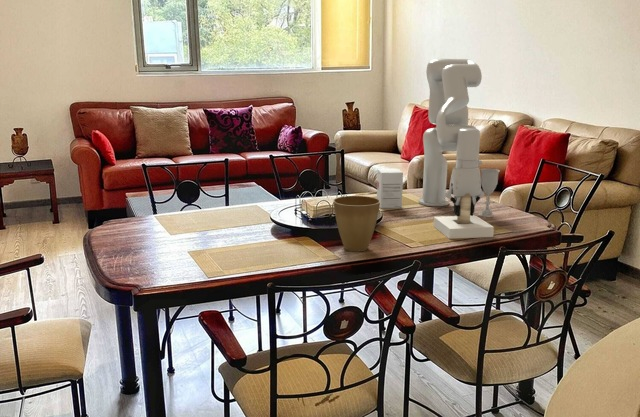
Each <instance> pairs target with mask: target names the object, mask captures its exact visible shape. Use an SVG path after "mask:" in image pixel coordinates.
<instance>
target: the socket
mask: <svg viewBox="0 0 640 417" xmlns="http://www.w3.org/2000/svg"><path fill="white" fill-rule="evenodd" d="M433 227H434V229H435V228H436V230H437V231H439V232H440V233H441V234H443V235H444V236H445V237H446V238H448V239H449V240H453V239H470V238H471V239H472V238H473V239H475V238H477V239H478V238H494V231H495V227H494V226H493V225H491V224H490V223H489V222H486V221H485V220H483V219H482V218H480V217H478V216H477V215H474V214H473V216H471V215H470V224H457V216H456V215H450V216H448V215H447V216H444V215H443V216H433Z"/></svg>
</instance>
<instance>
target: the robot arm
mask: <svg viewBox="0 0 640 417" xmlns="http://www.w3.org/2000/svg"><path fill="white" fill-rule="evenodd" d="M425 72H426V80H427V82H428V83H427V84H428V87H429V96H428V97H429V100H428V101H429V102H428V115H427V116H428V121H429V123H430V124H432V125H435V127H432V128H428V129H426V130H425V131H424V133H423V136H422V142H423V152H424V154H423V157H424V158H423V176H422V177H423V179H422V181H423V183H422V197H421V198H418V203H419V204H420V205H422V206H428V207H445V206H448V205H449V203H450V202H449V201H451V203H452V204H453V214H454V216H460V205H459V202H460V198H461V197H463V196H465V194H466V193H469V194H470V196H471V211H470V216H473V215H474V213H475V207H476V205H477V203H478V202H479V201H480V200H481V199H482V198H484V197H485V196H486V193H485V192H484V190H483V188H481V187H482V184H481V168H480V167H479V166H480V165H482V163H483V161H482V160H481V159H479V158H480V157H479V156H480V143H481V140H480V139H481V132H480V129H478V128H477V127H476V126H475V125H470V124H469V109H468V108H469V107H468V104H469V102H470V98H469V92H468V88H477V87H479V86H480V84H481V82H482V69H481V68H480V66H479V65H478V64H477V63H476V62H474V61H473V60H471V59H467V58H436V59H432V60H430V61H429V62H428V63H427V66H426V71H425ZM443 152H456V157H455V158H456V159H455V166H453V167H452V170H451V176H450V180H449V187H448V188H449V189H448V190H447V178H448V161H447V158H446V156H444V154H443ZM446 190H447V191H446ZM448 199H449V200H448Z"/></svg>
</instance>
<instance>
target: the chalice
mask: <svg viewBox="0 0 640 417" xmlns="http://www.w3.org/2000/svg"><path fill="white" fill-rule="evenodd" d="M500 171H501V170H500V169H498V168H486V167H485V168H480V173H481V174H480V176H481V187H482V191H483V192H484V194H485V195H486V197H485V200H486V202H485V208H484V209H482V211H481V212H480V213H479V216H480V217H484V218H492V217H494V214H493V210H491V209H490V208H489V205H491V203H490V200H491V198H490V195H492V194H493V193H494V191H495V190H496V188H497V185H498V182H499V181H498V180H499V173H500Z"/></svg>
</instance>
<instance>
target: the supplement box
mask: <svg viewBox="0 0 640 417" xmlns="http://www.w3.org/2000/svg"><path fill="white" fill-rule="evenodd" d="M376 180H377V181H376V198H377V199H379V200H380V206H379V209H402V207H403V206H402V205H403V202H402V201H403V186H404V185H403V182H404V172H402V170H400V169H399V168H377V179H376Z"/></svg>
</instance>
